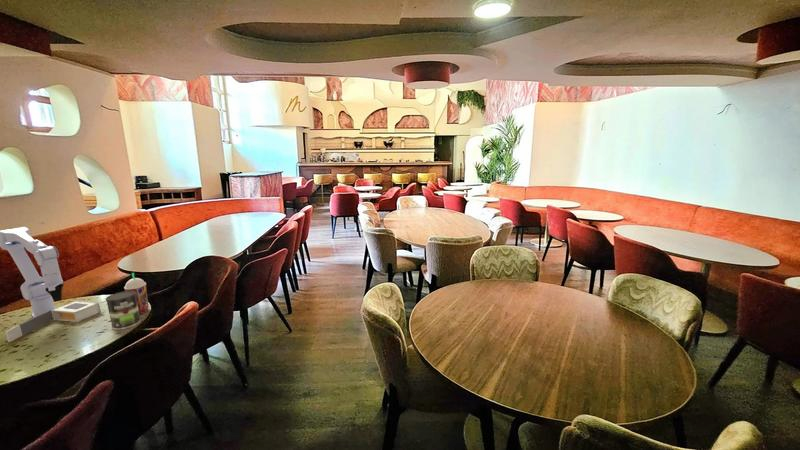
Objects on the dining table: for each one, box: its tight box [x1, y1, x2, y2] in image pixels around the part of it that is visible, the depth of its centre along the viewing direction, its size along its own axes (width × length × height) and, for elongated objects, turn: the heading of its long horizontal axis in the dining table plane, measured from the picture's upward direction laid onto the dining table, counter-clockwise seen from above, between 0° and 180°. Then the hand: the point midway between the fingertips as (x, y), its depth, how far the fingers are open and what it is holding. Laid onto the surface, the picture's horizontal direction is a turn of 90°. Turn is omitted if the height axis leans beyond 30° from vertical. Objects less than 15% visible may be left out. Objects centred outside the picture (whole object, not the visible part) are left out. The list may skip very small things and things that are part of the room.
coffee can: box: [105, 290, 142, 331], centre depth 148 cm, size 10×10×14 cm
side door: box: [4, 310, 54, 343], centre depth 145 cm, size 1×19×5 cm, turn 4°
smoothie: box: [123, 272, 150, 314], centre depth 160 cm, size 8×8×20 cm
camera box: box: [52, 300, 102, 323], centre depth 158 cm, size 10×14×5 cm
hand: (58, 300), depth 154 cm, fingers closed
